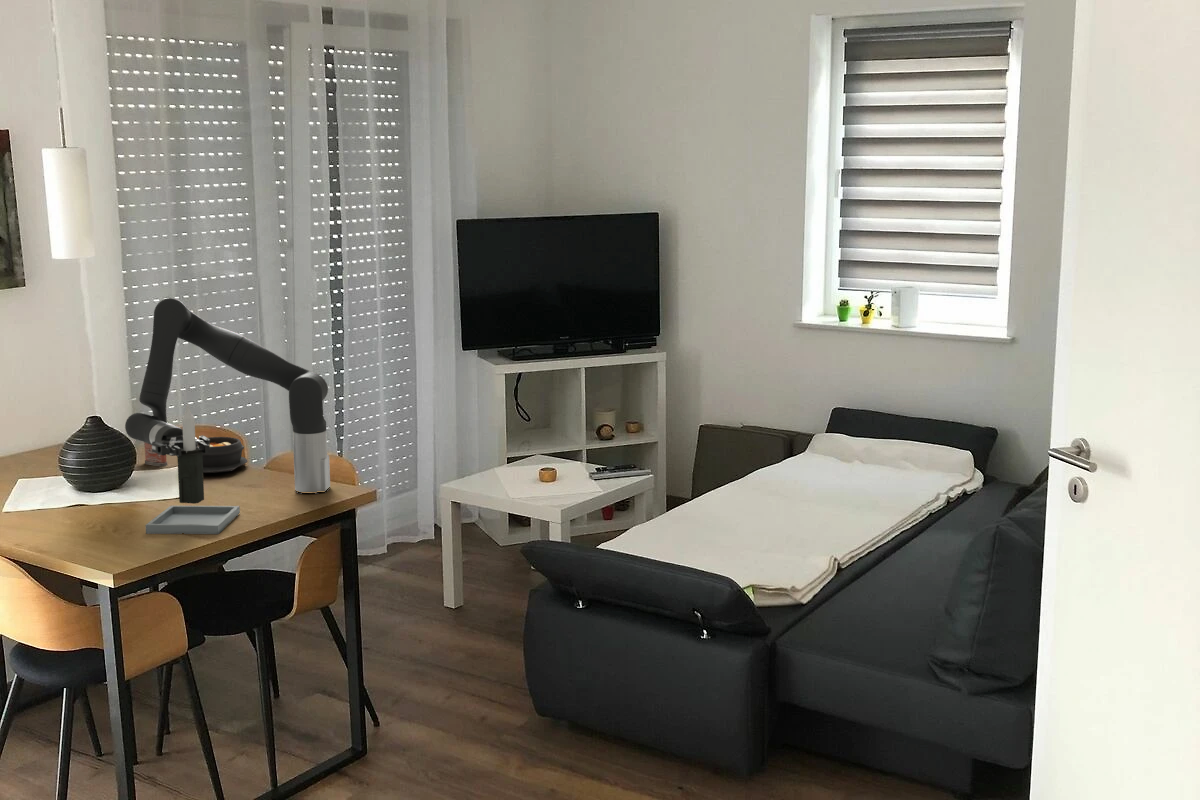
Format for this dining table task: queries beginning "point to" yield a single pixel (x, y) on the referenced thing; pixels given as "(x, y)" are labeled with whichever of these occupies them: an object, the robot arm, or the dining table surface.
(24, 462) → the dining table surface
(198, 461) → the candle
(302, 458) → the robot arm
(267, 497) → the dining table surface
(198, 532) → the tray
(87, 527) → the dining table surface
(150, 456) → the lighter
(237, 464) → the casserole
